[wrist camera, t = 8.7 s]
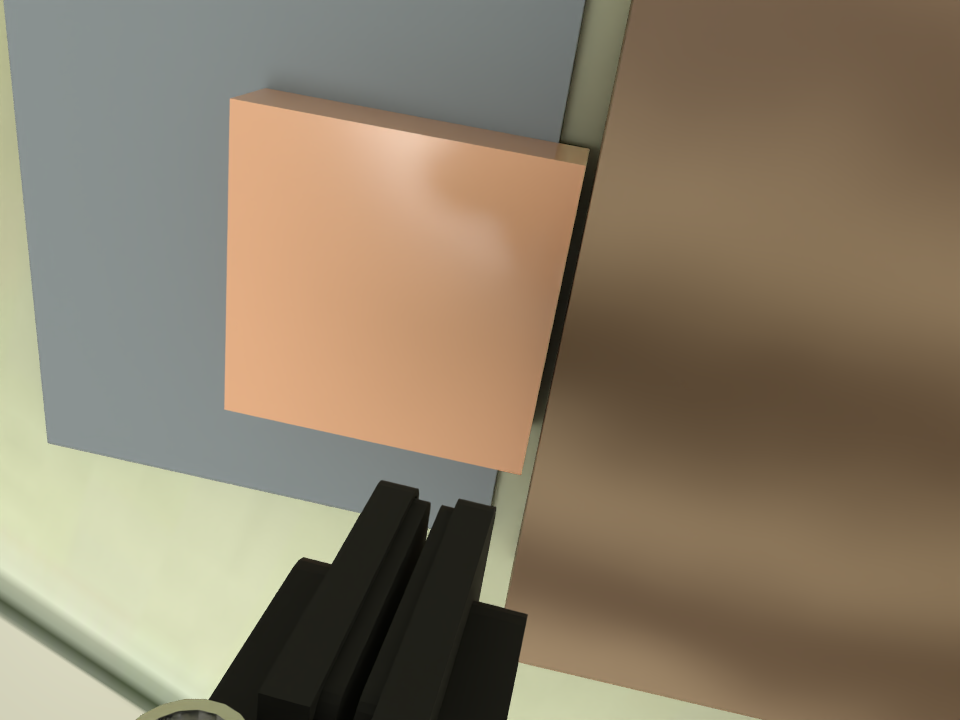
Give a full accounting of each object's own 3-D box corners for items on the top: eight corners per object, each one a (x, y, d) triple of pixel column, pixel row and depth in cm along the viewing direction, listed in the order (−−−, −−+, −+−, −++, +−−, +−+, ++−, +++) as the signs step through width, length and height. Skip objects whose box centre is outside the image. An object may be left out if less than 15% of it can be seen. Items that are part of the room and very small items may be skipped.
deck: (1045, 681, 24) (1119, 803, 20) (513, 561, 25) (495, 656, 22) (1452, 31, 16) (1686, 44, 13) (651, -94, 18) (657, -115, 14)
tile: (529, 436, 23) (520, 475, 21) (255, 376, 23) (224, 409, 22) (589, 148, 19) (585, 165, 17) (265, 88, 20) (230, 98, 18)
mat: (486, 528, 25) (484, 540, 24) (59, 433, 26) (47, 442, 26) (595, -50, 18) (594, -51, 17) (6, -146, 19) (-12, -149, 19)
